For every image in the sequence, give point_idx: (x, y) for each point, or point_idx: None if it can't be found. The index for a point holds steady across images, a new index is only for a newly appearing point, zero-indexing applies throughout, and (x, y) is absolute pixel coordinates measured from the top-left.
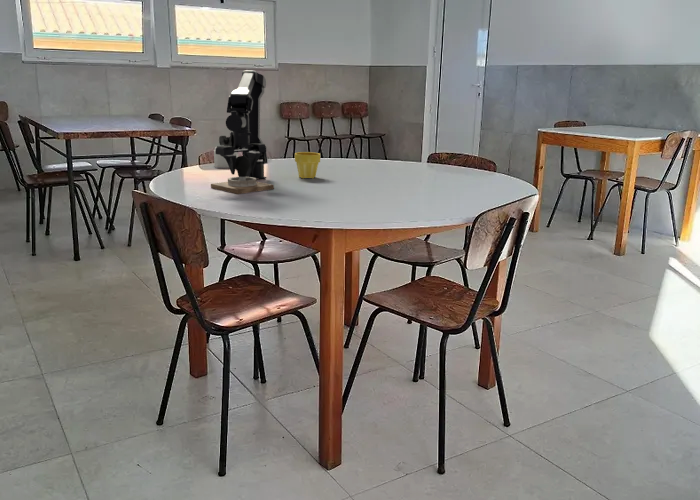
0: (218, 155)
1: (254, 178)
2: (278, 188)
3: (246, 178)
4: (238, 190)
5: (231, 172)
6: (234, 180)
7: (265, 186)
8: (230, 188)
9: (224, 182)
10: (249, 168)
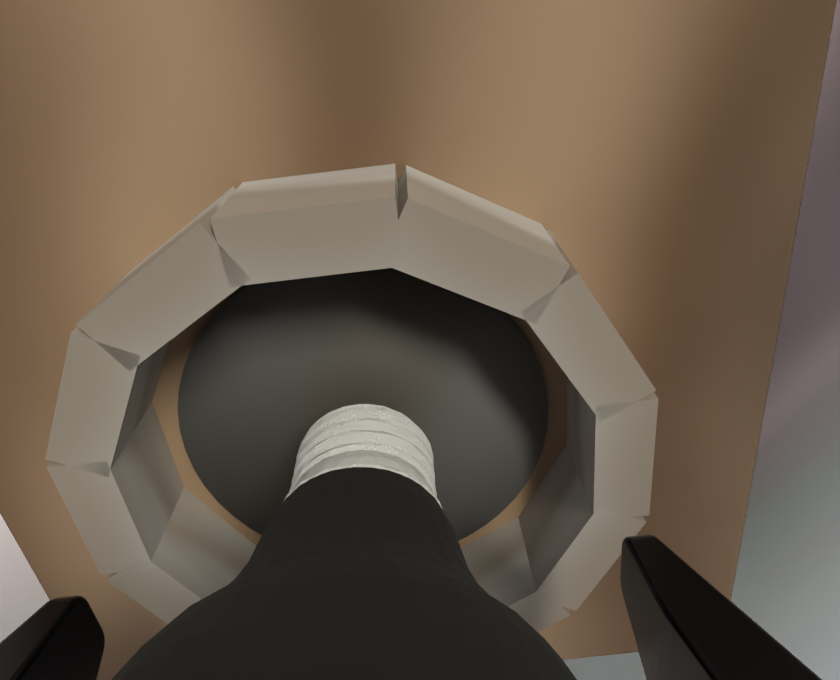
0: None
1: (589, 555)
2: (775, 587)
3: (557, 354)
4: None
5: (23, 641)
6: (136, 570)
7: (572, 651)
8: (49, 592)
9: (118, 37)
10: (656, 619)
